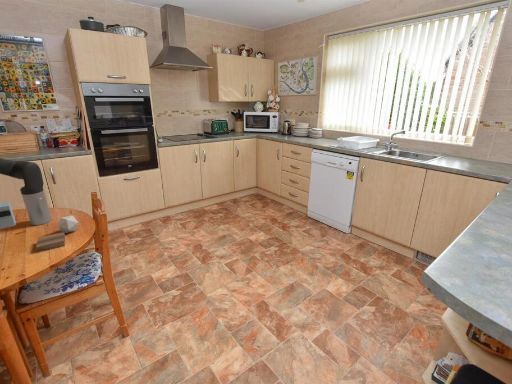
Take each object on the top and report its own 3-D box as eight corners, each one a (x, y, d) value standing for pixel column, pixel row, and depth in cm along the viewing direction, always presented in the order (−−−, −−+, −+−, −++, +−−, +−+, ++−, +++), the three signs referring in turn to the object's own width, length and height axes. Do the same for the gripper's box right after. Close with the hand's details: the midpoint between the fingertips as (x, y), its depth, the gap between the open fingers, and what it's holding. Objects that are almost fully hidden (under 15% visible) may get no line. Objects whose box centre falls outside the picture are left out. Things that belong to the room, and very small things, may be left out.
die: (80, 226, 143) (66, 213, 140) (84, 223, 137) (69, 210, 134) (67, 238, 138) (51, 225, 135) (70, 235, 132) (54, 221, 129)
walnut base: (39, 243, 127) (38, 237, 126) (65, 237, 132) (63, 232, 131) (37, 253, 119) (36, 247, 118) (65, 246, 124) (63, 240, 123)
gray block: (-2, 224, 114) (-9, 204, 111) (15, 221, 117) (9, 201, 114) (-3, 229, 110) (-10, 209, 107) (15, 225, 113) (8, 205, 110)
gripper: (-56, 218, 96) (6, 207, 106) (-48, 206, 107) (9, 196, 117) (-48, 237, 99) (12, 224, 109) (-41, 223, 109) (14, 212, 119)
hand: (10, 210), depth 113 cm, fingers closed on gray block, 5 cm apart
